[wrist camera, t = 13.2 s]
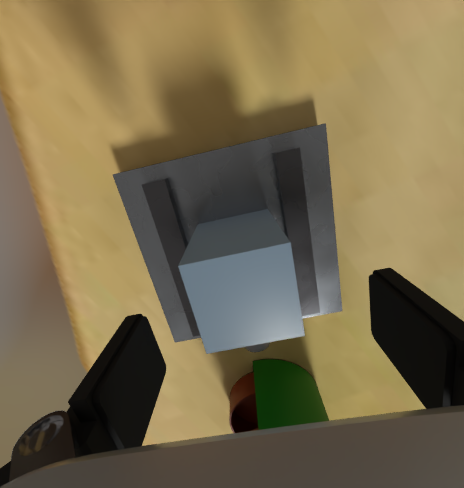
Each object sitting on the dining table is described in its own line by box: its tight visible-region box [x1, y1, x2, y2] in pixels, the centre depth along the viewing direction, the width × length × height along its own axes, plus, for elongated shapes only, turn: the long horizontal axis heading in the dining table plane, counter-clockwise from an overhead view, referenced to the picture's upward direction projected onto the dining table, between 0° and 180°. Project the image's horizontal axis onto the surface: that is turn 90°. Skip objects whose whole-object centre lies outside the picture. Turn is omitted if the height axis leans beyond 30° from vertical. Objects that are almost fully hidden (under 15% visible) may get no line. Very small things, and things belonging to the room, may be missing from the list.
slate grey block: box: [178, 209, 305, 354], centre depth 15 cm, size 5×7×7 cm
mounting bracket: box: [113, 123, 342, 342], centre depth 19 cm, size 14×14×2 cm
